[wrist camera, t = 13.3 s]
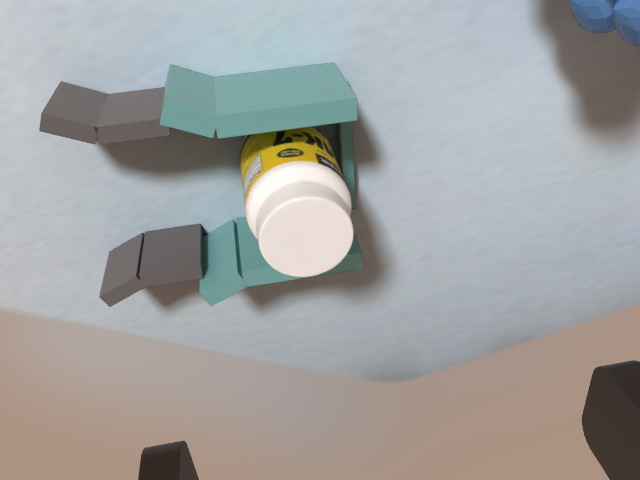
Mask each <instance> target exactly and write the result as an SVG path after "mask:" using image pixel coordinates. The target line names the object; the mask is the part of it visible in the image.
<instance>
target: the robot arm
mask: <svg viewBox="0 0 640 480" xmlns="http://www.w3.org/2000/svg"><path fill="white" fill-rule="evenodd" d="M582 426H583V431H584V435H585V438H586V441H587V443H588V445H589V447H590V449H591V451H592V452H593V454H594V455H595V457H596V458H597V460H598V461H599V463H600V465H601V466H602V468H603V469H604V471H605V473H606V474H607V476H608V477H609V479H610V480H640V362H638V361H627V362H622V363H616V364H611V365H605V366H600V367H597V368H595V370H594V371H593V374H592V378H591V382H590V386H589V391H588V395H587V399H586V403H585V407H584V411H583V415H582ZM138 480H199V478H198V476H197V473H196V470H195V467H194V464H193V461H192V458H191V455H190V452H189V449H188V446H187V444H186V442H185V441H180V442H174V443H168V444H163V445H157V446H152V447H146V448H144V450H143V452H142V455H141V462H140V471H139V479H138Z"/></svg>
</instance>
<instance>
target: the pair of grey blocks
mask: <svg viewBox="0 0 640 480" xmlns="http://www.w3.org/2000/svg"><path fill="white" fill-rule="evenodd" d="M164 92H165V87H163V88H155V89H147V90H139V91H131V92H122V93H114V94H106V93H102V92H99V91H95V90H91V89H87V88H84V87H80V86H76V85H72V84H69V83H65V82H60V84H59V85H58V87H57V89H56V90H55V92H54V94H53V95H52V97H51V98H50V100H49V102H48V103H47V105H46V107H45V108H44V110H43V112H42V114H41V122H40V130H39V131H41V132H45V133H50V134H54V135H58V136H62V137H66V138H70V139H75V140H79V141H83V142H87V143H91V144H96V141H97V139H98V142H99V145H101V144H109V143H117V142H124V141H132V140H140V139H147V138H155V137H163V136H170V135H171V127H167V126H163V125H160V118H161V112H162V105H163V98H164ZM197 279H203V234H202V229H201V224H195V225H188V226H181V227H174V228H168V229H161V230H154V231H147V232H145V235H144V234H143V233H141V234H140V235H138V236H136V237H134V238H133V239H131V240H129V241H127V242H125V243H124V244H122V245H120V246H118V247H117V248H115V249H113V250H111V251H110V252H109V256H108V261H107V265H106V269H105V274H104V278H103V283H102V287H101V292H100V296H99V297H100V298H101V299H102V300H103V301H104V302H105V303H106V304H107V305H108V306H109V307H111V306H113V305H114V304H116V303H118V302H120V301H122V300H123V299H125V298H127V297H129V296H131V295H132V294H134V293H136V292H138V291H140V290H141V289H143V288H145V287H152V286H158V285H164V284H171V283H177V282H184V281H190V280H197Z"/></svg>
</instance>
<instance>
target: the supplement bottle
mask: <svg viewBox="0 0 640 480" xmlns="http://www.w3.org/2000/svg"><path fill="white" fill-rule="evenodd" d="M240 165H241V174H242V185H243V195H244V203H245V213H246V219H247V222H248V225H249V227H250V230H251V231H252V233H253V235H254V236H255V237H256V238H257V240H258V243H259V248H260V251H261V254H262V256H263V257H264V259H265V260H266V262H267V263H268V264H269V265H270V266H271V267H273V268H274V269H275V270H277V271H279V272H281V273H283V274H286V275H290V276H294V277H310V276H315V275H319V274H321V273H324V272H326V271H328V270H330V269H332V268H333V267H335V266H336V265H338V264H339V263H340V262H341V261H342V260H343V259H344V257H345V256H346V255H347V253H348V252H349V250H350V248H351V245H352V242H353V234H354V231H353V224H352V221H351V217H350V215H351V208H352V205H351V196H350V192H349V190H348V186H347V184H346V182H345V180H344V177H343V175H342V173H341V170H340V168H339V165H338V163H337V161H336V158H335V156H334V153H333V151H332V149H331V147H330V144H329V142H328V140H327V138H326V136H325V134H324V132H323V131H322V130H321V128H320V127H319V126H310V127H302V128H295V129H287V130H280V131H272V132H265V133H257V134H249V135H246V136H245V138H244V140H243V143H242V146H241V150H240Z"/></svg>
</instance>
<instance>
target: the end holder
mask: <svg viewBox="0 0 640 480" xmlns="http://www.w3.org/2000/svg"><path fill="white" fill-rule="evenodd" d="M355 120H358V117H357V97H356V96H355V94H354V93H353V91H352V89H351V86H350V84H349V83H348V81H346V80H345V78H344V77H343V75H342V74H341V72H340V70H339V69H338V67H337V66H336V64H335V63H326V64H318V65H310V66H302V67H293V68H285V69H277V70H269V71H261V72H252V73H244V74H236V75H228V76H219V77H212V76H209V75H205V74H202V73H198V72H195V71H192V70H188V69H185V68H181V67H178V66H174V65H171V64H170V67H169V71H168V76H167V80H166V85H165V92H164V98H163V105H162V112H161V118H160V125H163V126H167V127H171V128H175V129H179V130H183V131H187V132H190V133H194V134H198V135H202V136H206V137H210V138H213V136H214V133H215V129H216V131H217V137H218V139H219V138H227V137H234V136H242V135H249V134H257V133H265V132H272V131H280V130H287V129H295V128H302V127H310V126H318V125H325V124H333V123H338V136H339V154H340V170H341V173H342V175H343V177H344V180H345V182H346V184H347V186H348V190H349V192H350V196H351V205H352V208H351V209H356V206H355V181H354V156H353V131H352V121H355ZM236 219H237V224H236V223H235V222H234V220H231V221H230V222H228V223H226V224H224V225H223V226H221V227H219V228H217V229H215V230H214V231H212V232H210V233H208V234H207V235H205V236H203V279H200V295H201V296H202V297H203V298H204V299H205V300H206V301H207V302H208V304H209V305H210V306H213V305H215V304H216V303H218V302H220V301H222V300H224V299H226V298H228V297H229V296H231V295H233V294H235V293H237V292H239V291H240V290H242V289H244V288H246V287H250V286H257V285H263V284H269V283H276V282H282V281H288V280H294V279H301V278H307V277H294V276H290V275H286V274H283V273H281V272H279V271H277V270H275V269H274V268H273V267H271V266H270V265H269V264H268V263H267V262H266V260H265V259H264V257H263V256H262V254H261V251H260V248H259V243H258V240H257V238H256V237H255V236H254V235H253V233H252V231H251V230H250V227H249V225H248V222H247V219H246V217H243V218H236ZM358 269H363V264H362V251H361V249H360V246H359V244H358V241H357V239H356V236H355V234H353V242H352V245H351V248H350V250H349V252H348V253H347V255H346V256H345V257H344V259H343V260H342V261H341V262H340V263H339V264H338V265H336V266H335V267H333V268H332V269H330V270H328V271H326V272H324V273H321V274H319V275H315V276H320V275H326V274H332V273H339V272H345V271H351V270H358ZM310 277H313V276H310Z"/></svg>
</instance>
